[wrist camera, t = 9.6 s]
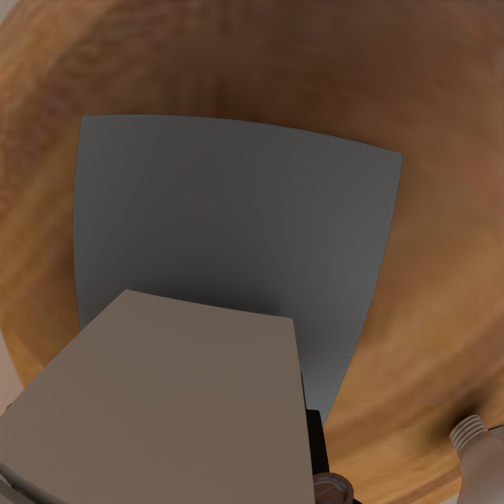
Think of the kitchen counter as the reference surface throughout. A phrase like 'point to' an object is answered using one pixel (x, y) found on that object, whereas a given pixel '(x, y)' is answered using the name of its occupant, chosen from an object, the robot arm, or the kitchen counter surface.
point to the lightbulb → (479, 462)
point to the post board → (236, 226)
